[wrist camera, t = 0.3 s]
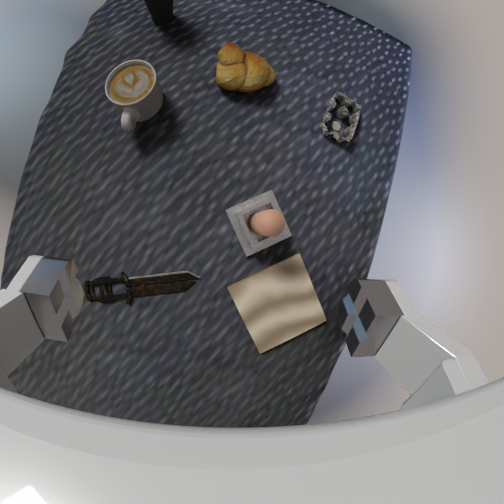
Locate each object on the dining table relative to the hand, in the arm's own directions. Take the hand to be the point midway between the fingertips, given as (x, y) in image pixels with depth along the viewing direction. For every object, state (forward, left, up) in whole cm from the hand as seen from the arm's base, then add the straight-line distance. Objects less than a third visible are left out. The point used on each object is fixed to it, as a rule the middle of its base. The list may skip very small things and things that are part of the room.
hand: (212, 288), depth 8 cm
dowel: (-2, -9, -51) cm, 52 cm away
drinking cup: (+53, -9, -52) cm, 75 cm away
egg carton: (+12, -35, -53) cm, 64 cm away
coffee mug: (+31, +4, -52) cm, 61 cm away
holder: (-2, -9, -52) cm, 53 cm away
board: (-19, -6, -52) cm, 56 cm away
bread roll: (+28, -20, -52) cm, 62 cm away
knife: (-3, +18, -53) cm, 56 cm away
